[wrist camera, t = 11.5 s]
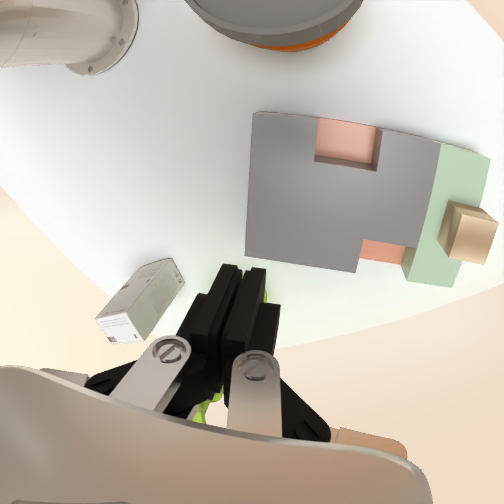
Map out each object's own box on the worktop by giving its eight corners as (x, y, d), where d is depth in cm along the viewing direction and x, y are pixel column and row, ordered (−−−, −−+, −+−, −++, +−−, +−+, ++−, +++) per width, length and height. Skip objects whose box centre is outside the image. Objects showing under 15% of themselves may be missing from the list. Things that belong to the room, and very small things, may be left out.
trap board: (261, 111, 31) (253, 112, 28) (474, 151, 27) (490, 159, 24) (252, 240, 38) (244, 255, 35) (442, 270, 34) (452, 287, 31)
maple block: (447, 200, 27) (462, 214, 23) (481, 208, 26) (498, 223, 23) (436, 239, 29) (448, 258, 25) (470, 246, 28) (484, 264, 25)
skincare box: (171, 256, 42) (125, 309, 31) (186, 284, 43) (146, 342, 33) (138, 267, 44) (91, 317, 33) (153, 292, 45) (111, 346, 35)
